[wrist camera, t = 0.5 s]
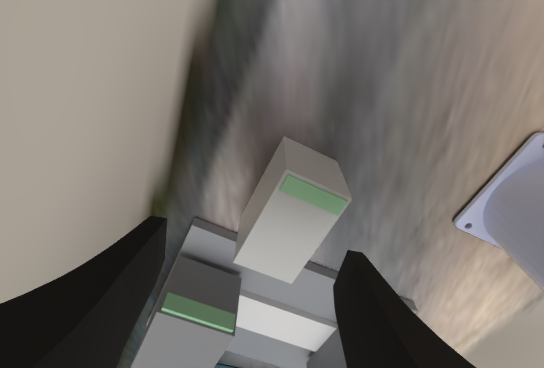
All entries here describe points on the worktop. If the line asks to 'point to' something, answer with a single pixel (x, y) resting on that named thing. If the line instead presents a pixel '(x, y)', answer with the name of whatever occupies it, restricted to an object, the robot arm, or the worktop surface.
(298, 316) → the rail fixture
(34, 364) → the robot arm
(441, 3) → the worktop surface
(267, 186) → the module
